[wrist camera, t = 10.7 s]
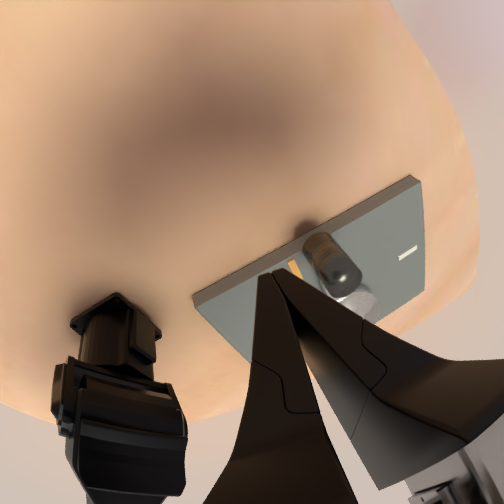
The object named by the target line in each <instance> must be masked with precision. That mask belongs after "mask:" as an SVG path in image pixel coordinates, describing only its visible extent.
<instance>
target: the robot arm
mask: <svg viewBox="0 0 504 504" xmlns="http://www.w3.org/2000/svg"><path fill="white" fill-rule="evenodd" d="M115 299H118V300H115ZM74 324H75V325H74ZM70 327H71V328H72V329H73V330H74V331H76V332H77V333H78V334H79V335H81V342H80V348H79V355H78V360H77V359H75V358H74V357H71V356H68V357H67V361H66V363H63V364H59V365H56V366H55V371H54V378H53V385H52V395H51V412H52V414H53V415H54V417H55V418H56V424H57V425H58V433H59V435H60V436H64V437H66V445H65V448H66V449H65V454H66V458H67V460H68V462H69V464H70V466H71V468H72V469H73V471H74V473H75V475H76V477H77V479H78V480H79V482H80V484H81V486H82V487H83V489H84V491H85V492H86V498H87V504H162V503H163V501H164V500H165V499H166V498H167V496H180V495H181V494H182V492H183V490H184V488H185V485H186V478H185V464H184V461H185V450H186V446H187V442H188V438H187V437H188V436H187V435H188V429H187V422H186V419H185V416H184V414H183V412H182V409H181V407H180V404H179V402H178V400H177V397H176V395H175V392H174V390H173V387H172V385H171V384H169V383H160V382H155V381H154V372H153V363H155V362H156V346H155V341H157V340H159V339H161V337H162V332H161V331H160V330H159V329H158V328H157V327H156V326H154V324H153V323H152V322H151V321H150V320H149V319H148V318H146V317H145V316H144V315H143V314H142V313H141V312H140V311H139V310H138V309H135V308H134V307H133V306H132V305H131V304H130V303H129V302H128V301H127V300H126V299H125V298H124V297H123V296H122V295H120V294H118V293H115V294H112V295H111V296H109V297H108V298H106V299H104V300H103V301H101V302H99V303H98V304H96V305H95V306H93V307H91V308H90V309H88V310H87V311H85V312H83V313H82V314H80V315H79V316H77V317H76V318H74V319H72V320H71V322H70ZM304 359H305V360H304ZM251 360H252V361H251V369H250V378H249V387H248V392H247V397H246V402H245V406H244V411H243V415H242V419H241V423H240V427H239V431H238V435H237V439H236V442H235V446H234V449H233V452H232V454H231V457H230V459H229V461H228V463H227V465H226V467H225V468H224V470H223V472H222V474H221V475H220V477H219V478H218V480H217V482H216V483H215V485H214V487H213V488H212V490H211V491H210V493H209V495H208V496H207V498H206V499H205V501H204V502H203V504H358V502H357V499H356V497H355V495H354V492H353V490H352V488H351V486H350V484H349V481H348V479H347V477H346V474H345V472H344V470H343V468H342V465H341V463H340V461H339V459H338V456H337V454H336V452H335V450H334V448H333V445H332V443H331V441H330V439H329V436H328V434H327V431H326V428H325V426H324V423H323V420H322V416H321V414H320V409H319V406H318V403H317V399H316V396H315V393H314V389H313V386H312V383H311V379H310V376H309V373H308V369H307V366H306V363H307V364H308V366H309V368H310V370H311V372H312V373H313V375H314V377H315V379H316V380H317V382H318V384H319V386H320V388H321V389H322V391H323V393H324V395H325V396H326V398H327V400H328V402H329V403H330V405H331V407H332V409H333V411H334V413H335V414H336V416H337V418H338V420H339V421H340V423H341V425H342V427H343V429H344V430H345V432H346V433H347V435H348V437H349V439H350V440H351V443H352V444H353V446H354V448H355V450H356V451H357V453H358V455H359V457H360V459H361V460H362V462H363V464H364V466H365V467H366V469H367V471H368V473H369V474H370V476H371V478H372V480H373V481H374V483H375V485H376V487H377V488H378V490H381V489H384V488H386V487H389V486H391V485H393V484H396V483H398V482H400V481H402V480H405V482H406V484H407V486H408V488H409V490H410V492H411V494H412V496H411V497H410V498H408V500H409V502H410V504H504V359H496V360H473V361H472V360H471V361H454V360H447V359H443V358H440V357H438V356H435V355H433V354H431V353H428V352H427V351H424V350H422V349H420V348H418V347H416V346H414V345H412V344H409V343H408V342H405V341H403V340H401V339H399V338H398V337H396V336H394V335H392V334H390V333H388V332H386V331H384V330H383V329H381V328H379V327H378V326H376V325H374V324H373V323H371V322H369V321H368V320H366V319H363V317H361V316H360V315H358V314H356V313H355V312H353V311H352V310H350V309H349V308H347V307H345V306H344V305H342V304H341V303H339V302H337V301H336V300H334V299H333V298H331V297H329V296H328V295H326V294H325V293H323V292H322V291H320V290H318V289H317V288H315V287H314V286H312V285H310V284H309V283H307V282H306V281H304V280H302V279H301V278H299V277H298V276H296V275H294V274H293V273H291V272H290V271H288V270H286V269H285V268H279V269H276V270H273V271H272V272H271V273H270V272H267V273H264V274H261V275H259V276H258V278H257V291H256V305H255V318H254V332H253V345H252V358H251ZM305 361H306V363H305Z"/></svg>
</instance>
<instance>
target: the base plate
mask: <svg viewBox="0 0 504 504" xmlns="http://www.w3.org/2000/svg"><path fill="white" fill-rule="evenodd" d="M320 231H324V232H327V233H329V234H330V235H331V236H332V237H333V238H334V240H335V241H336V242H337V243H338V244H339V245H340V246H341V248H342V249H343V250H344V251H345V252H346V254H347V255H348V256H349V257H350V258H351V259H352V261H353V262H354V263H355V264H356V265H357V267H358V268H359V269H360V270H361V272H362V281H361V283H360V285H363V286H365V287H367V288H368V289H369V290H370V291H371V292H372V294H373V295H374V296H375V298H376V299H377V300H378V301H379V304H380V313H379V316H378V318H377V320H376V322H377V321H379V320H381V319H382V318H384V317H385V316H387V315H388V314H390V313H392V312H393V311H395V310H396V309H398V308H399V307H401V306H402V305H404V304H405V303H407V302H408V301H410V300H411V299H413V298H414V297H415V296H417V295H418V294H420V293H421V292H423V291H424V286H425V230H424V211H423V197H422V186H421V181H419V180H418V179H416V178H415V177H413V176H411V175H409V176H408V177H406V178H404V179H402V180H401V181H399V182H397V183H395V184H393V185H392V186H390V187H388V188H386V189H385V190H383V191H381V192H379V193H378V194H376V195H374V196H372V197H370V198H369V199H367V200H365V201H363V202H362V203H360V204H358V205H356V206H354V207H353V208H351V209H349V210H347V211H345V212H344V213H342V214H340V215H338V216H336V217H335V218H333V219H331V220H329V221H327V222H326V223H324V224H322V225H320V226H319V227H317V228H315V229H313V230H311V231H309V232H308V233H306V234H304V235H302V236H300V237H299V238H297V239H295V240H293V241H291V242H290V243H288V244H286V245H284V246H282V247H281V248H279V249H277V250H275V251H273V252H271V253H270V254H268V255H266V256H264V257H262V258H260V259H259V260H257V261H255V262H253V263H251V264H250V265H248V266H246V267H244V268H242V269H240V270H239V271H237V272H235V273H233V274H231V275H229V276H228V277H226V278H224V279H222V280H220V281H218V282H216V283H215V284H213V285H211V286H209V287H207V288H205V289H204V290H202V291H200V292H198V293H196V294H194V295H193V301H194V307H195V309H196V310H197V311H198V312H199V313H200V314H201V315H202V316H203V317H204V318H205V319H206V320H207V321H208V322H209V323H210V324H211V325H212V326H213V327H214V328H215V329H216V330H217V331H218V332H219V333H220V334H221V335H222V336H223V337H224V338H225V339H226V340H227V341H228V342H229V343H230V344H231V345H232V346H233V347H234V348H235V349H236V350H237V351H238V352H239V353H240V354H241V355H242V356H243V357H244V358H245V359H246V360H247V361H248V362H249V363H250V364H251V361H252V360H251V358H252V345H253V332H254V318H255V305H256V291H257V278H258V276H259V275H261V274H264V273H267V272H270V273H271V272H272V271H273V270H276V269H279V268H285V269H286V270H288V271H290V272H291V273H293V274H294V275H296V276H298V277H299V278H301V279H302V280H304V281H306V282H307V283H309V284H310V285H312V286H314V287H315V288H317V289H318V290H320V291H322V292H323V289H322V287H321V284H320V281H319V278H318V276H317V274H316V273H315V271H314V270H313V268H312V267H311V265H310V264H309V262H308V261H307V259H306V258H305V257H304V255H303V252H302V248H303V244H304V242H305V241H306V239H307V238H308V237H309V236H311V235H312V234H314V233H316V232H320ZM323 293H324V292H323ZM376 322H375V323H376ZM304 360H305V359H304ZM305 362H306V361H305Z"/></svg>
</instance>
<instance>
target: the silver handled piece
mask: <svg viewBox="0 0 504 504" xmlns="http://www.w3.org/2000/svg"><path fill="white" fill-rule="evenodd" d="M302 252H303V255H304V257H305V258H306V259H307V261H308V262H309V264H310V265H311V267H312V268H313V270H314V271H315V273H316V274H317V276H318V278H319V281H320V284H321V287H322V289H323V292H324V293H325V294H326V295H328V296H329V297H331V298H333V299H334V300H336V301H337V302H339V303H341V304H342V305H344V306H345V307H347V308H349V309H350V310H352V311H353V312H355V313H356V314H358V315H360V316H361V317H363V319H366V320H368V321H369V322H371V323H373V324H375V322H376V320H377V318H378V316H379V313H380V304H379V301H378V300H377V299H376V298H375V296H374V295H373V294H372V292H371V291H370V290H369V289H368V288H367V287H365V286H363V285H360V283H361V281H362V272H361V270H360V269H359V268H358V267H357V265H356V264H355V263H354V262H353V261H352V259H351V258H350V257H349V256H348V255H347V254H346V252H345V251H344V250H343V249H342V248H341V246H340V245H339V244H338V243H337V242H336V241H335V240H334V238H333V237H332V236H331V235H330V234H329V233H327V232H324V231H320V232H316V233H314V234H312V235H311V236H309V237H308V238H307V239H306V241H305V242H304V244H303V248H302Z"/></svg>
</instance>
